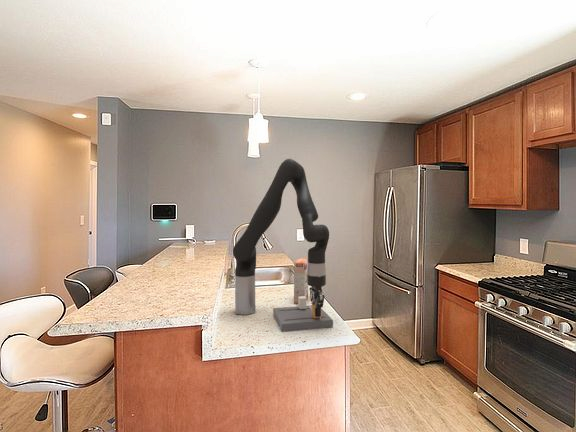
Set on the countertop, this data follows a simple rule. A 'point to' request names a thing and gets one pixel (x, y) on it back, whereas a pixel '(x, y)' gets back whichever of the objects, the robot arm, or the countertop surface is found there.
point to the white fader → (302, 302)
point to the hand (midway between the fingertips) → (316, 314)
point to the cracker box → (300, 278)
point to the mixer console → (300, 319)
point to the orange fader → (314, 311)
